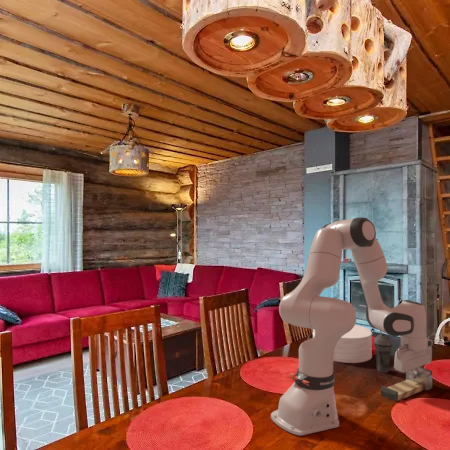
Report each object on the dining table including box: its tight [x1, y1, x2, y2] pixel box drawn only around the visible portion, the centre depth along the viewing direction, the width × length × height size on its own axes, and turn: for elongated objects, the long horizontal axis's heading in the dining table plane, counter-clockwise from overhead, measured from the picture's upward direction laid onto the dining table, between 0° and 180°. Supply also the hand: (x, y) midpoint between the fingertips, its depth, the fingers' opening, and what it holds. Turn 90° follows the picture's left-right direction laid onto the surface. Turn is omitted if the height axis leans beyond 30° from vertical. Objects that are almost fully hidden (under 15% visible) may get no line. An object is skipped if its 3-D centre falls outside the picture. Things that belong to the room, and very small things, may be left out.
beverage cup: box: [373, 330, 393, 373], centre depth 158 cm, size 7×7×20 cm
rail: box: [380, 366, 433, 402], centre depth 138 cm, size 24×6×6 cm, turn 123°
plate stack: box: [312, 324, 373, 364], centre depth 181 cm, size 28×28×12 cm
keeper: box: [405, 368, 433, 391], centre depth 142 cm, size 4×8×6 cm, turn 33°
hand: (413, 378), depth 140 cm, fingers closed
